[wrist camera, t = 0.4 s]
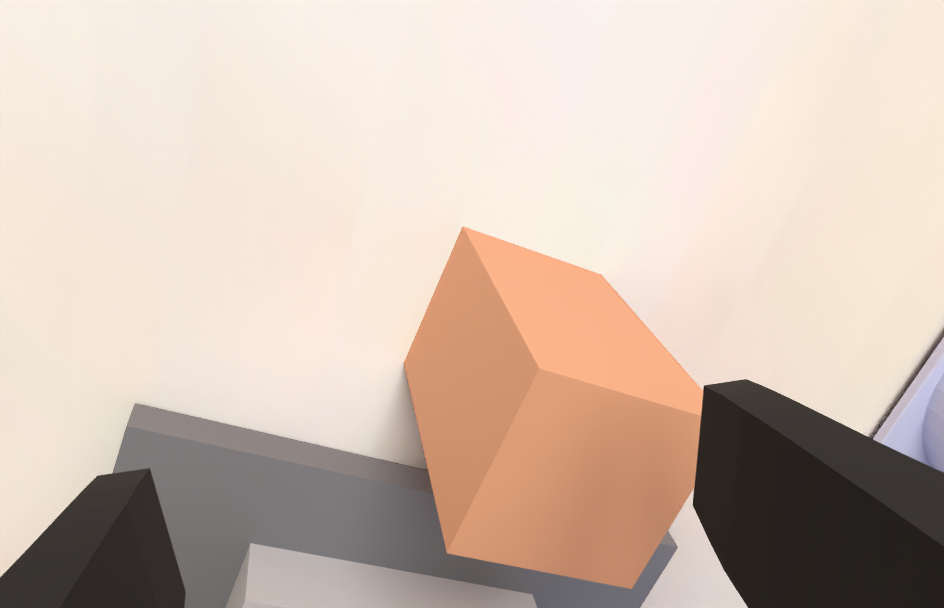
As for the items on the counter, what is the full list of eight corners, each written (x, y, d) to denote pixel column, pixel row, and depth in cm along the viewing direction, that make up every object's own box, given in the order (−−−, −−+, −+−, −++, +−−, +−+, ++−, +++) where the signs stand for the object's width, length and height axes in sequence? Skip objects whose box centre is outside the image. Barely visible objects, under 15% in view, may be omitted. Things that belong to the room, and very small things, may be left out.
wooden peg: (601, 274, 20) (732, 425, 14) (537, 400, 21) (631, 589, 15) (462, 226, 19) (539, 368, 13) (403, 363, 20) (447, 553, 14)
